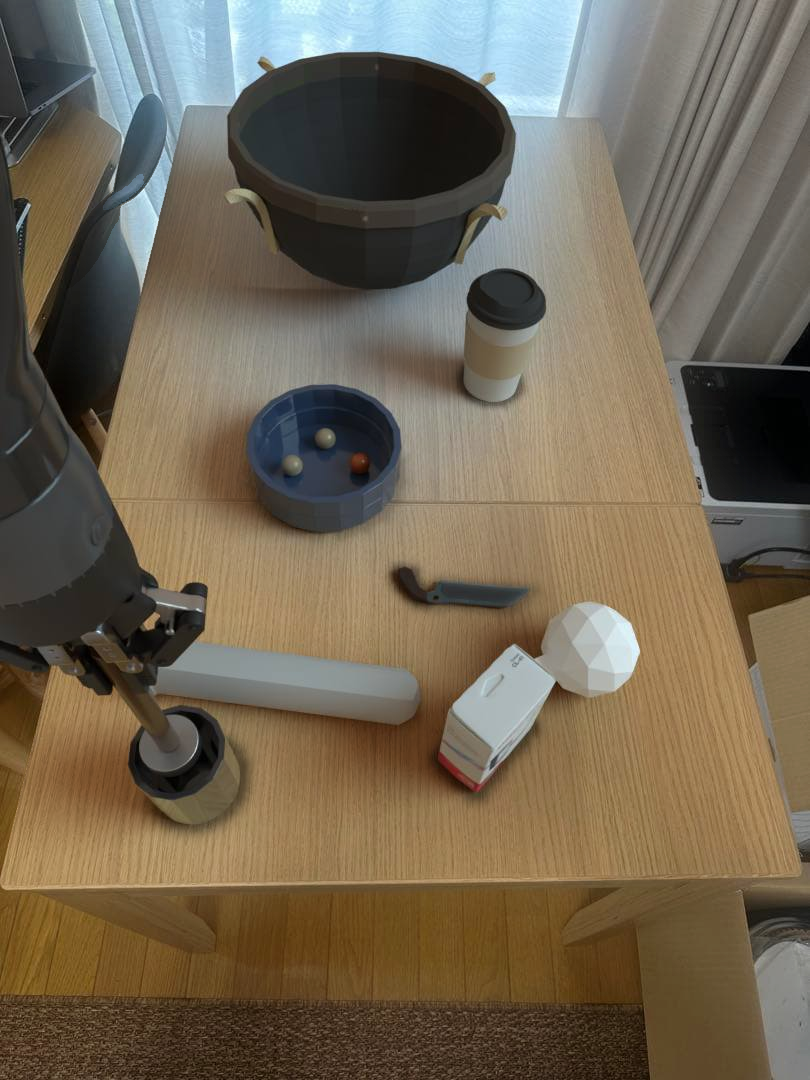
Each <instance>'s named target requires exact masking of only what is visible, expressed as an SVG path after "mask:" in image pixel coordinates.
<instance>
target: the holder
mask: <svg viewBox="0 0 810 1080" xmlns="http://www.w3.org/2000/svg"><path fill="white" fill-rule="evenodd" d="M162 711H163V713H164V714H165V716H166V715H180V716H184V717H186V718H188V719H189V720H190V721H192V723H193V724H194V725H195V727H196V728H197V730H198V732H199V734H200V736H201V740H202V749H201V754H200V756H199V758H198V760H197V762H196V763H195V764H194V765H193V767H192V768H190V769H189V770H188V771H186V772H185V773H183V774H181V775H178V776H174V777H163V776H159V775H157V774H155V773H154V772H152V771H151V770H150V769H149V768H148V766H147V765H146V764H145V763H144V762H143V760H142V758H141V756H140V752H139V744H140V739H141V736H142V734H143V732H144V731H145V728H144V727H143V726H142V724H140V726H139V727H138V729H137V731H136V733H135V734H134V736H133V738H132V740H131V741H130V743H129V751H128V757H127V758H128V759H127V767H128V770H129V772H130V775H131V778H132V781H133V783H134V785H135V786H136V787H138V789H139V790H140V791H141V792H142V793H144V795H145V796H146V797H147V798H148V800H150V801H151V802H152V803H153V804H154V805H155V806H156V807H157V808H158V809H159V810H160V811H161V812H162V813H164V814H165V815H166V816H167V817H168V818H170V819H171V820H172V821H173V822H177V823H179V824H183V825H189V826H190V825H191V826H193V825H201V824H204V823H208V822H210V821H213V820H214V819H216V818H218V817H220V816H221V815H222V814H223V813H224V812H225V811H227V809H228V808H229V807H230V806H231V805H232V803H233V801H235V799H236V796H237V794H238V791H239V788H240V784H241V783H240V782H241V771H240V769H241V768H240V764H239V763H238V760H237V757H236V756H235V753H234V751H233V748H232V747H231V745H230V743H229V741H228V739H227V737H226V735H225V733H224V731H223V729H222V727H221V724H220V723H219V719H217V718H216V717H214V716H213V715H212V714H210V713H209V712H208V711H206V710H205V709H204V708H202V707H198V706H193V705H192V706H191V705H185V704H179V705H175V706H172V707H168V708H163V709H162Z"/></svg>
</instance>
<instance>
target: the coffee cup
mask: <svg viewBox="0 0 810 1080" xmlns="http://www.w3.org/2000/svg"><path fill="white" fill-rule="evenodd" d="M545 295H546V294H545V293H544V291H543V289H542V288H541V287H540V286H539V284H538V283H537V282H536V280H535V279H534V278H533V277H532V276H530V275H529V274H527V273H525V272H523V271H521V270H518V269H514V268H508V267H501V268H494V269H492V270H489V271H487V272H485V273H483V274H481V275H479V276H477V277H476V278H475V279H474V280H473V281H472V282H471V284H470V286H469V289H468V292H467V294H466V305H467V311H466V313H465V323H464V325H465V326H464V327H465V328H464V345H463V358H464V363H463V364H464V365H463V386H464V388H465V389H466V391H467V392H468V393H469V394H470V395H472V396H473V397H474V398H475V399H479V400H481V401H484V402H489V403H499V402H504V401H506V400H508V399H510V398H511V397H512V396H513V395H514V394H515V392H516V390H517V388H518V385H519V382H520V378H521V376H522V375H523V371H524V370H525V368H526V365H527V363H528V361H529V357H530V355H531V351H532V349H533V346H534V343H535V341H536V338H537V335H538V332H539V330H540V323H541V320H542V319H543V318H544V316H545V314H546V311H547V299H546V296H545Z"/></svg>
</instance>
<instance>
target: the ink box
mask: <svg viewBox="0 0 810 1080" xmlns="http://www.w3.org/2000/svg"><path fill="white" fill-rule="evenodd" d="M534 659H535V658H533V657H532V656H531V655H530V654H529V653H527V652H526V651H525V650H524V649H523V648H521V647H520V646H518V644H516V643H513V644H511V645H510V646H509V647H507V648H506V649H505V650H504V651H503V652H502V653H501V654H500V655H499V656H498V657H497V658H496V659H495V660H494V661H493V662H492V663H491V665H490V666H489V667H488V668H487V669H485V671H483V672H482V673H481V674H480V675H479V676H478V678H477V679H476V680H475V681H474V682H473V683H472V685H470V686H469V687H468V688H467V689H466V690H465V691H464V692H463V693H462V694H461V695H460V696H459V698H457V699H456V700H455V701H454V702H453V704H452V706H451V707H450V708H449V709H448V711H447V715H446V719H445V724H444V727H443V728H444V729H443V733H442V737H441V741H440V742H441V743H440V745H439V750H438V755H437V760H438V762H439V763H440V764H441V765H442V766H443V767H444V768H445V769H446V770H448V772H449V773H450V774H451V775H453V776H454V777H455V778H456V779H457V780H458V781H460V782H461V783H462V784H463V785H465V786H466V787H467V788H469V789H470V790H471V791H473V792H474V793H478V792H479V791H480V790H481V788H483V786H484V785H485V784H486V782H488V780H489V779H490V778H491V777H492V776H493V774H494V773H495V772H496V771H497V769H498V768H499V767H500V766H501V765H502V763H503V762H504V761H505V760H506V758H507V757H508V756H509V755H510V754H511V752H512V751H513V750H515V748H516V747H517V745H519V743H520V742H521V741H522V740H523V738H524V737H525V736H526V735H527V733H528V732H529V731H530V730H531V729H532V727H533V725H534V723H535V721H536V719H537V717H538V715H539V713H540V712H541V709H542V708H543V706H544V704H545V702H546V700H547V699H548V696H549V695H550V693H551V691H552V689H553V687H554V685H555V683H556V682H557V681H556V679H555V678H554V677H553V676H552V675H551V674H550V673H549V672H548V671H547V670H546V669H545V668H544V667H543V666H541V665H540V664H539V663H538V662H537V661H536V660H534Z"/></svg>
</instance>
